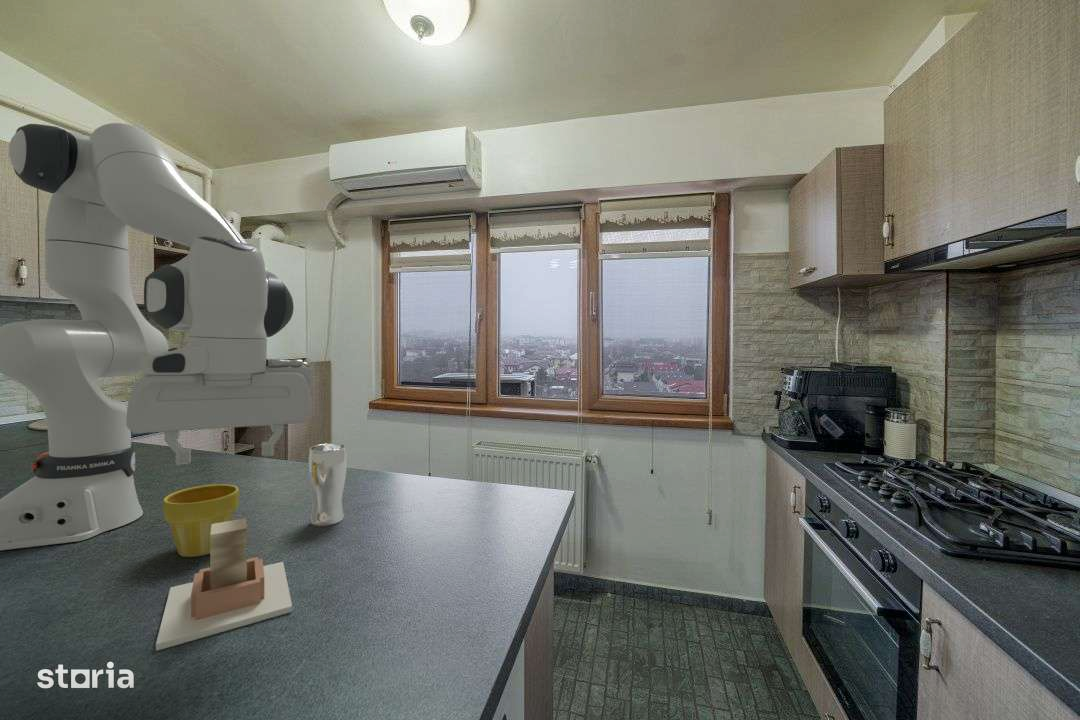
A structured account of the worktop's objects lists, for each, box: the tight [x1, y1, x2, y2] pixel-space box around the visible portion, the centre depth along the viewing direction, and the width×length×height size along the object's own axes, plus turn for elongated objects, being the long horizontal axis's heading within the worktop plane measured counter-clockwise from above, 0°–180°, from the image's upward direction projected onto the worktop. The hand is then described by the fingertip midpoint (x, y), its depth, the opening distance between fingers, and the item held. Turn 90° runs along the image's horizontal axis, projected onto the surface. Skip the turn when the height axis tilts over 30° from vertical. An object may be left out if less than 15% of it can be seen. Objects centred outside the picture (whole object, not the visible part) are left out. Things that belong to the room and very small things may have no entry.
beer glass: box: [307, 442, 348, 527], centre depth 89 cm, size 7×7×15 cm
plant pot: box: [162, 483, 240, 558], centre depth 76 cm, size 10×10×10 cm
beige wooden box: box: [209, 517, 248, 590], centre depth 61 cm, size 4×4×10 cm
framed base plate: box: [155, 556, 293, 651], centre depth 61 cm, size 14×14×4 cm
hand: (227, 459), depth 60 cm, fingers open, 8 cm apart
